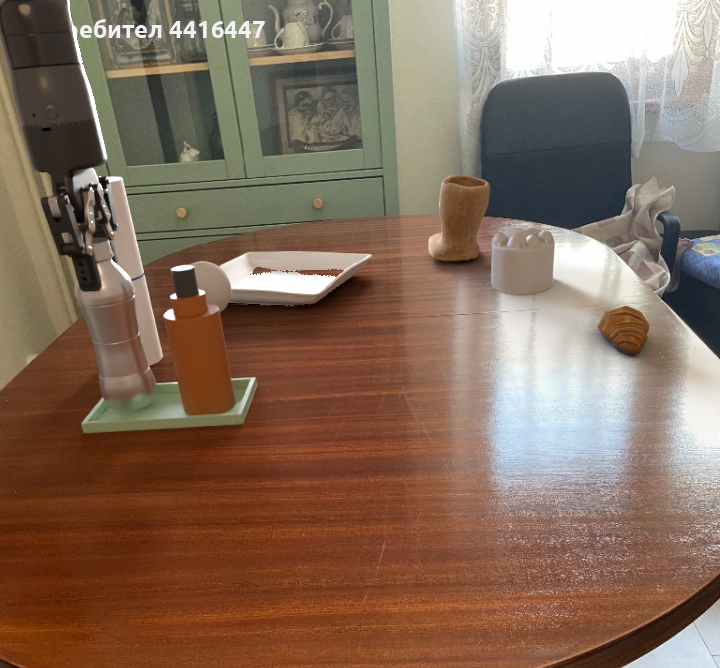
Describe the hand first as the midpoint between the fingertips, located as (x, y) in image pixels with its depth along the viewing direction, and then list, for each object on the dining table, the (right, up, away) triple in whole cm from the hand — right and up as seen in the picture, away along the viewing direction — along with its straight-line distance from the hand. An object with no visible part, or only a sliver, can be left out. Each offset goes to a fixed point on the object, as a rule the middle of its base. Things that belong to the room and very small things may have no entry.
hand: (101, 281), depth 82 cm
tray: (+6, -14, +8) cm, 17 cm away
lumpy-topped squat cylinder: (+58, +11, +44) cm, 73 cm away
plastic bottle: (+1, -13, +8) cm, 16 cm away
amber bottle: (+11, -13, +8) cm, 19 cm away
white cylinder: (+10, -7, +19) cm, 23 cm away
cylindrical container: (-3, -5, +24) cm, 25 cm away
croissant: (+65, -4, +17) cm, 68 cm away
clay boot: (+49, +22, +63) cm, 83 cm away
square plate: (+15, +13, +52) cm, 56 cm away
